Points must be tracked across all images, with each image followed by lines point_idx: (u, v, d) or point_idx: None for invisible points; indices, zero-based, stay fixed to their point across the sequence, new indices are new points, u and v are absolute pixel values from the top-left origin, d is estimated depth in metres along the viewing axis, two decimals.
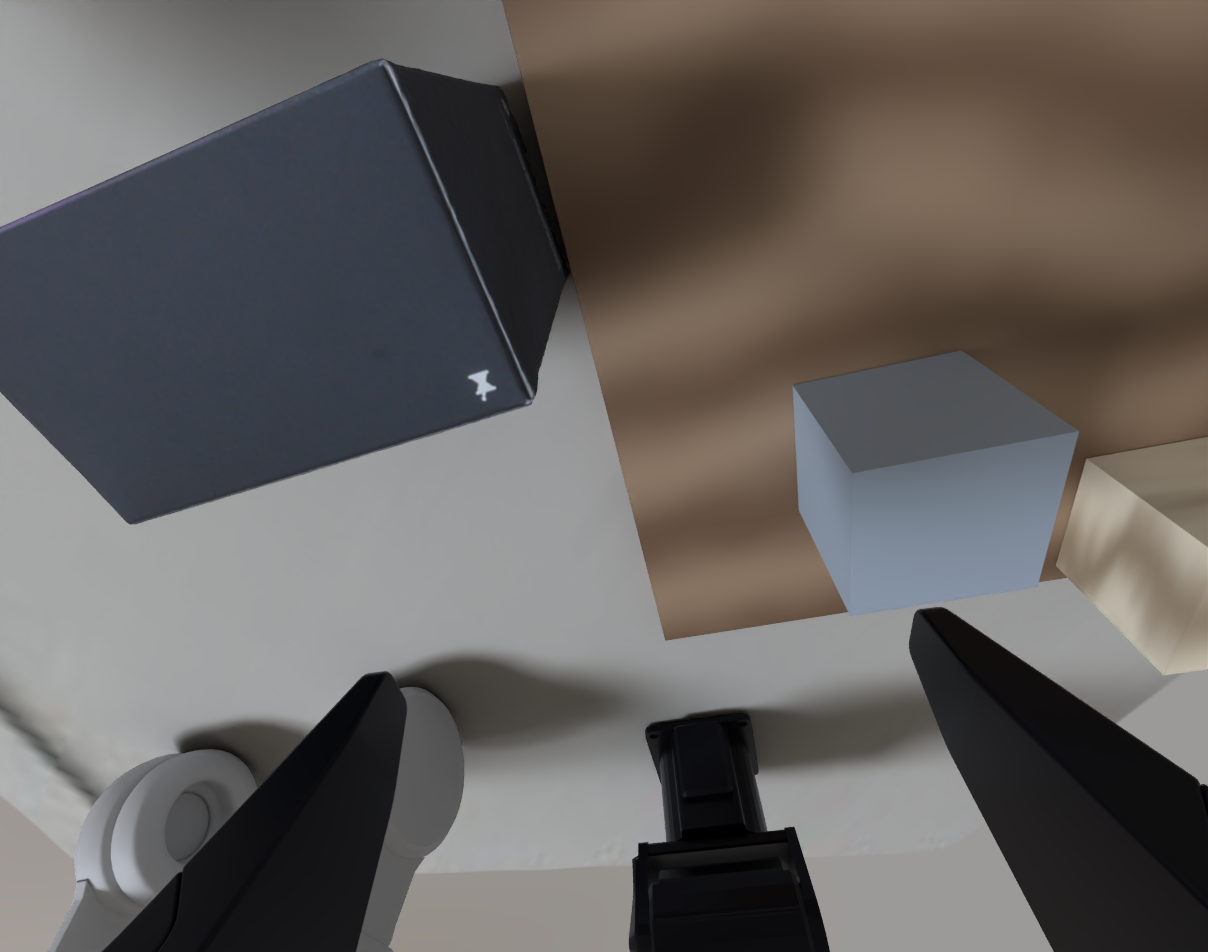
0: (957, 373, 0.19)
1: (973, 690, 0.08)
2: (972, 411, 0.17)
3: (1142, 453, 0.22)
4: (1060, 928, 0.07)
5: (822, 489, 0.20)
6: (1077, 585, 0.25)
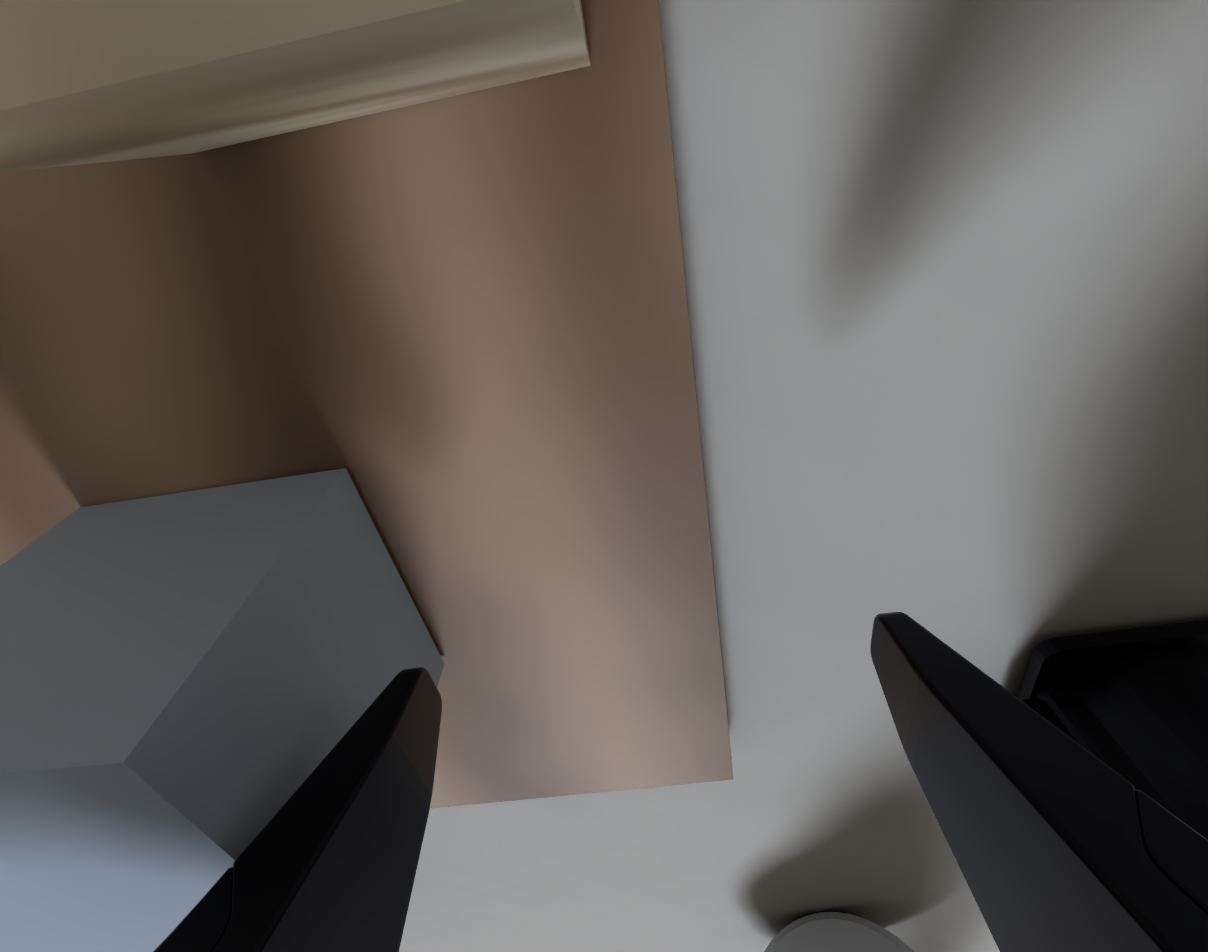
0: None
1: (925, 695, 0.08)
2: None
3: None
4: (1006, 931, 0.07)
5: None
6: (579, 59, 0.07)
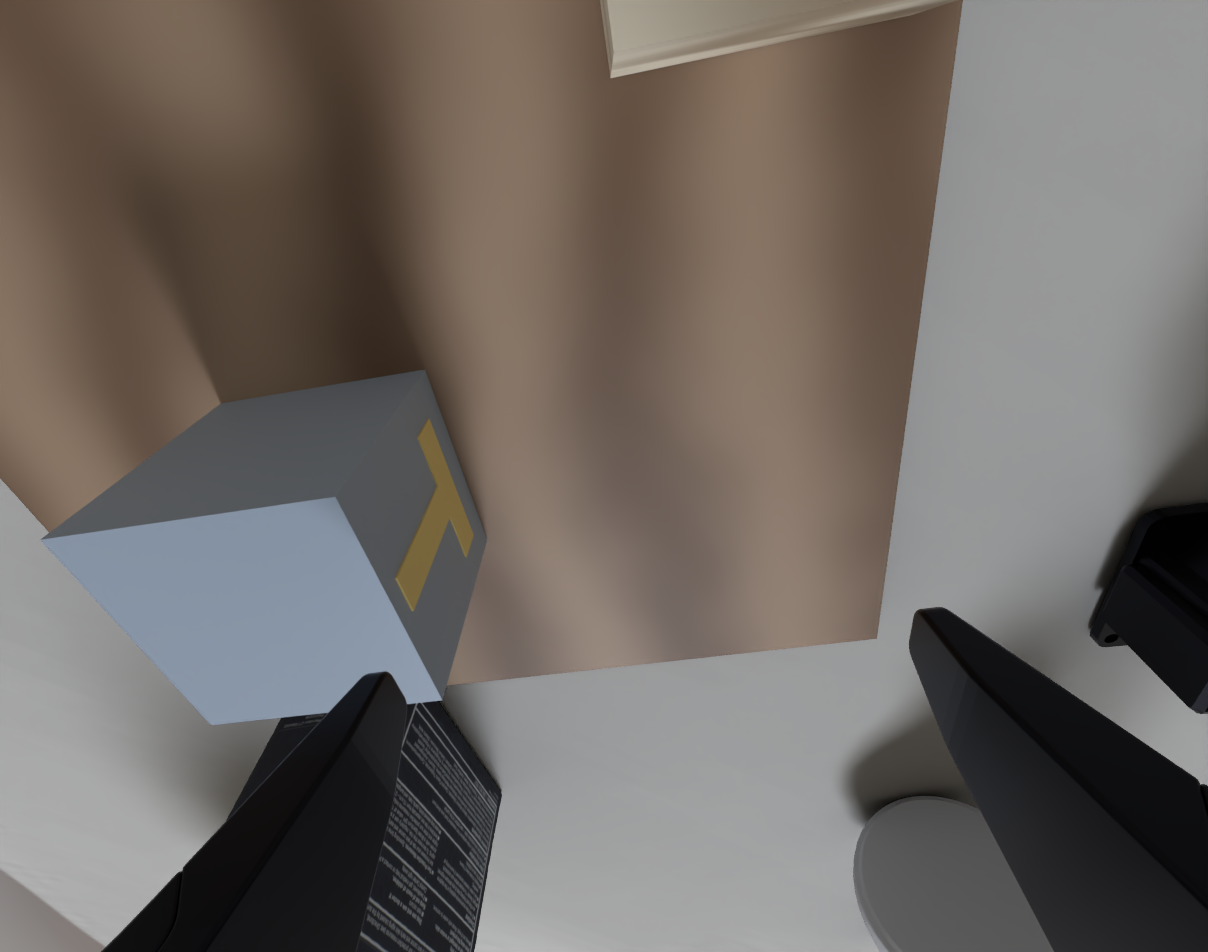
0: None
1: (973, 690, 0.08)
2: None
3: None
4: (1060, 928, 0.07)
5: None
6: (941, 4, 0.10)
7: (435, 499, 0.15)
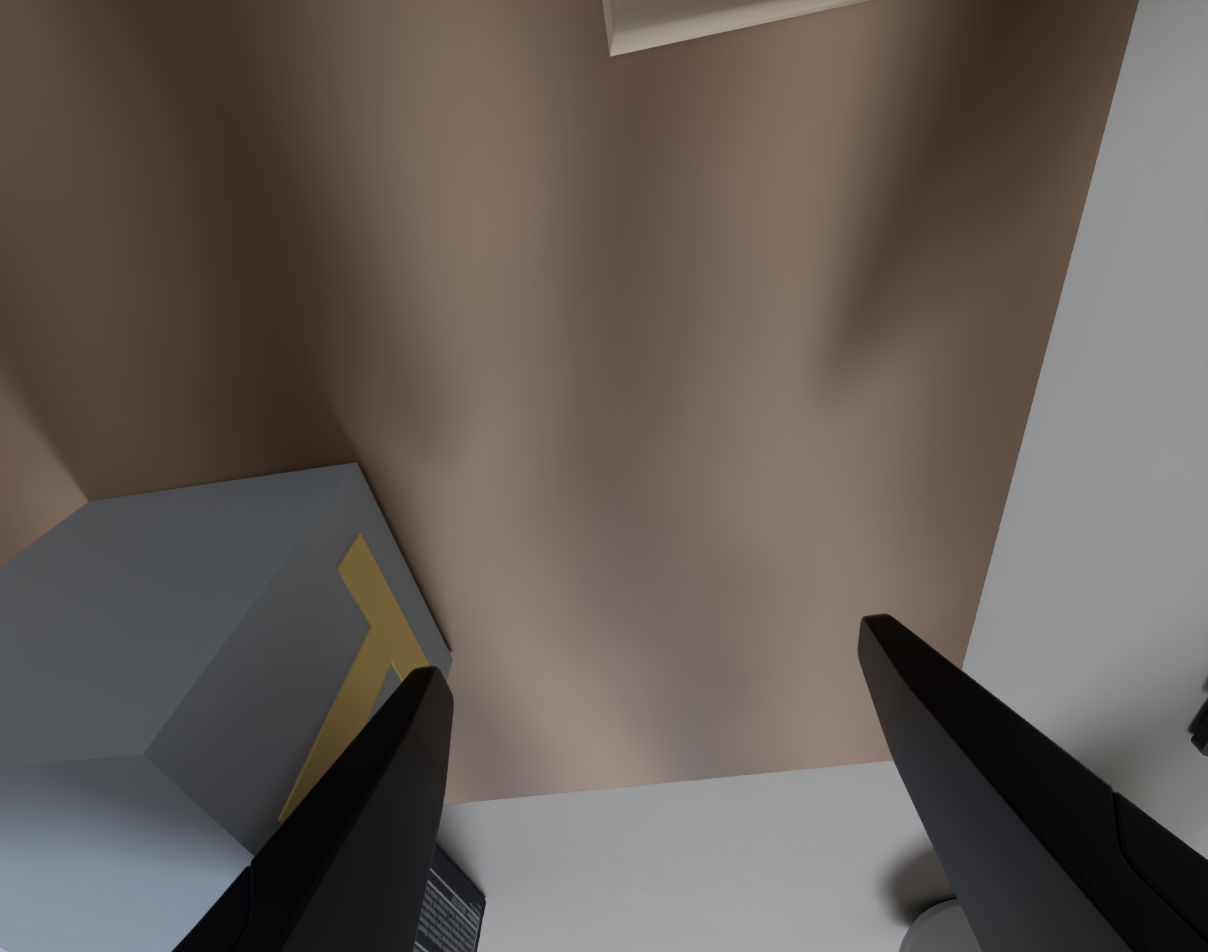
0: None
1: (908, 696, 0.08)
2: None
3: None
4: (988, 932, 0.07)
5: None
6: None
7: (365, 648, 0.10)
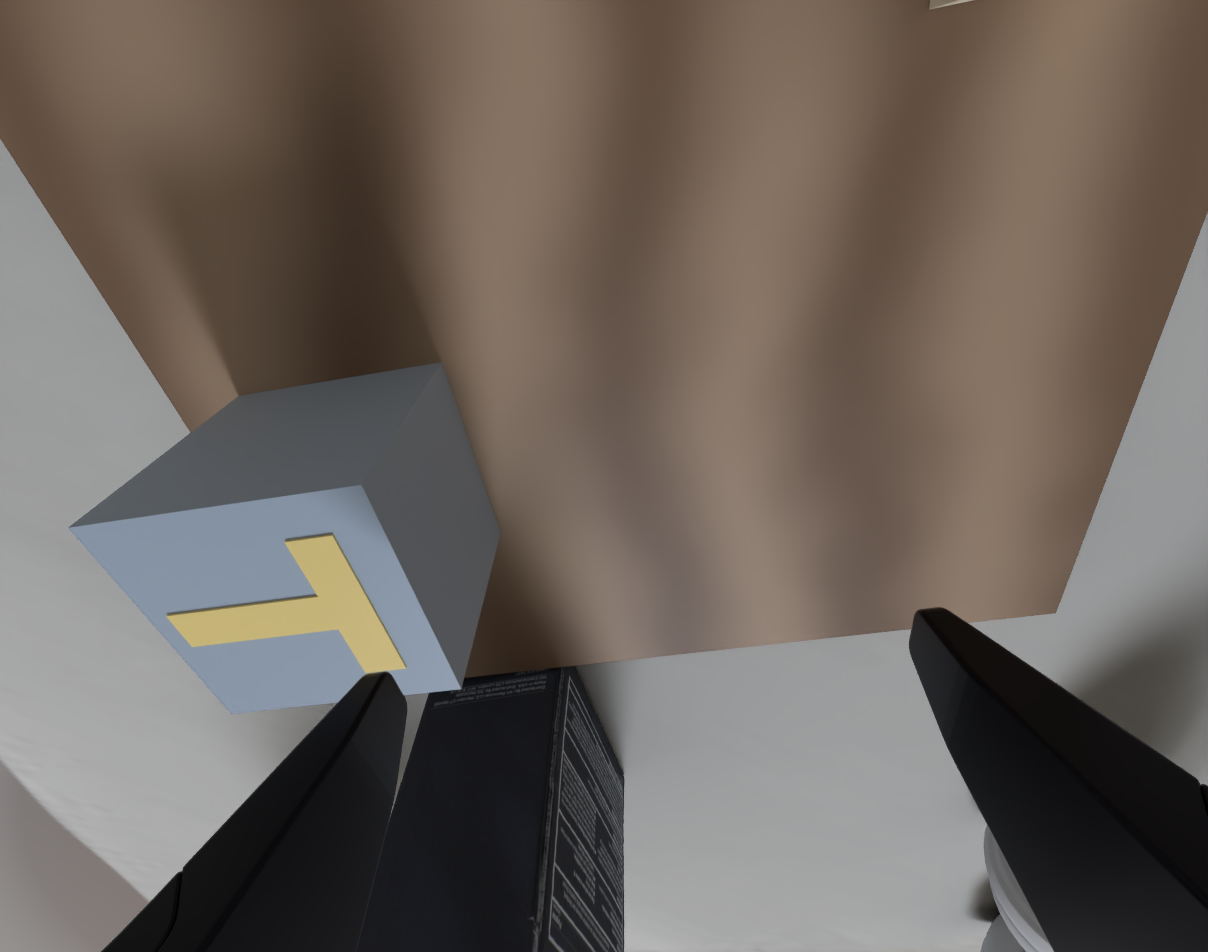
0: (406, 478, 0.12)
1: (973, 690, 0.08)
2: (445, 452, 0.15)
3: None
4: (1060, 928, 0.07)
5: None
6: None
7: (302, 603, 0.12)
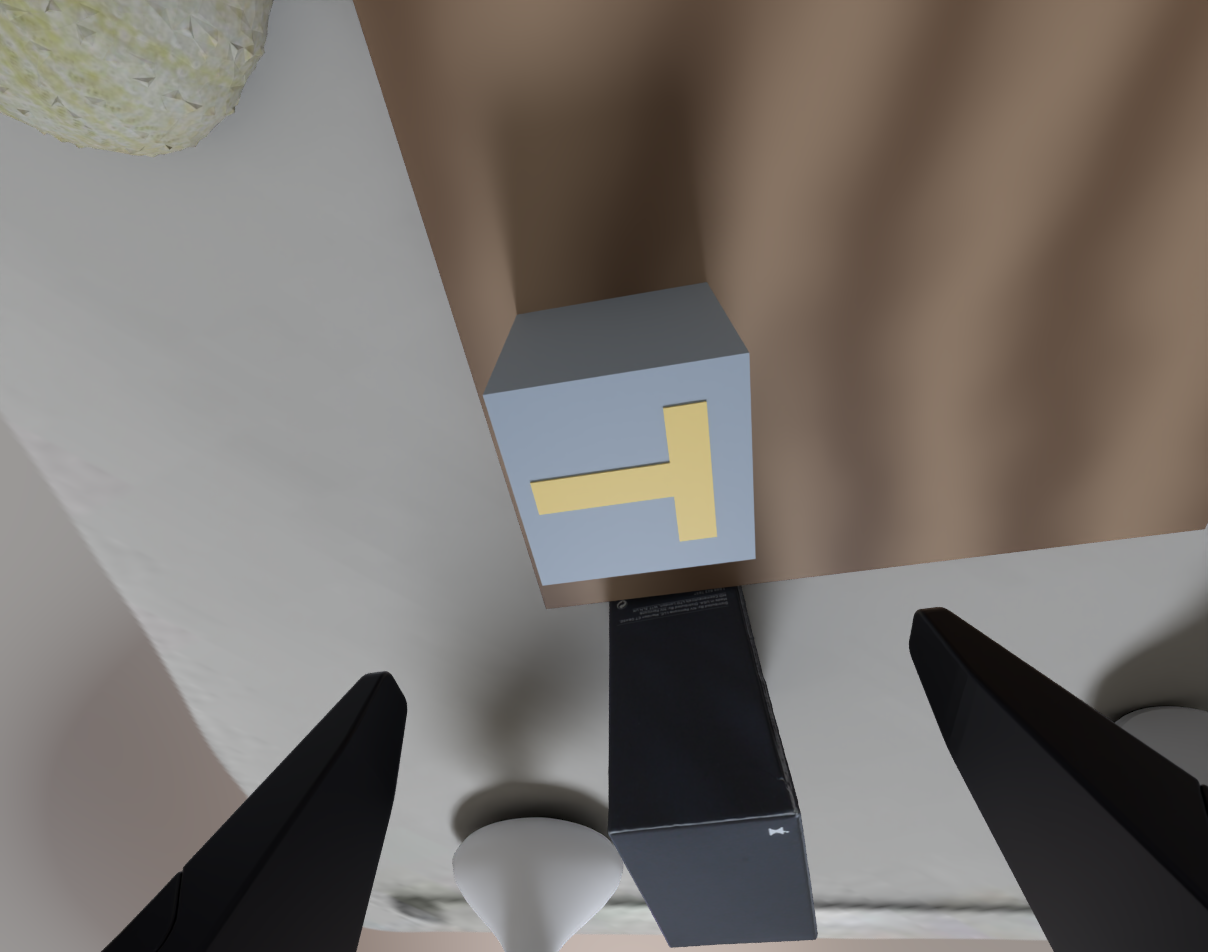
0: None
1: (973, 690, 0.08)
2: None
3: None
4: (1060, 928, 0.07)
5: None
6: None
7: (653, 470, 0.14)
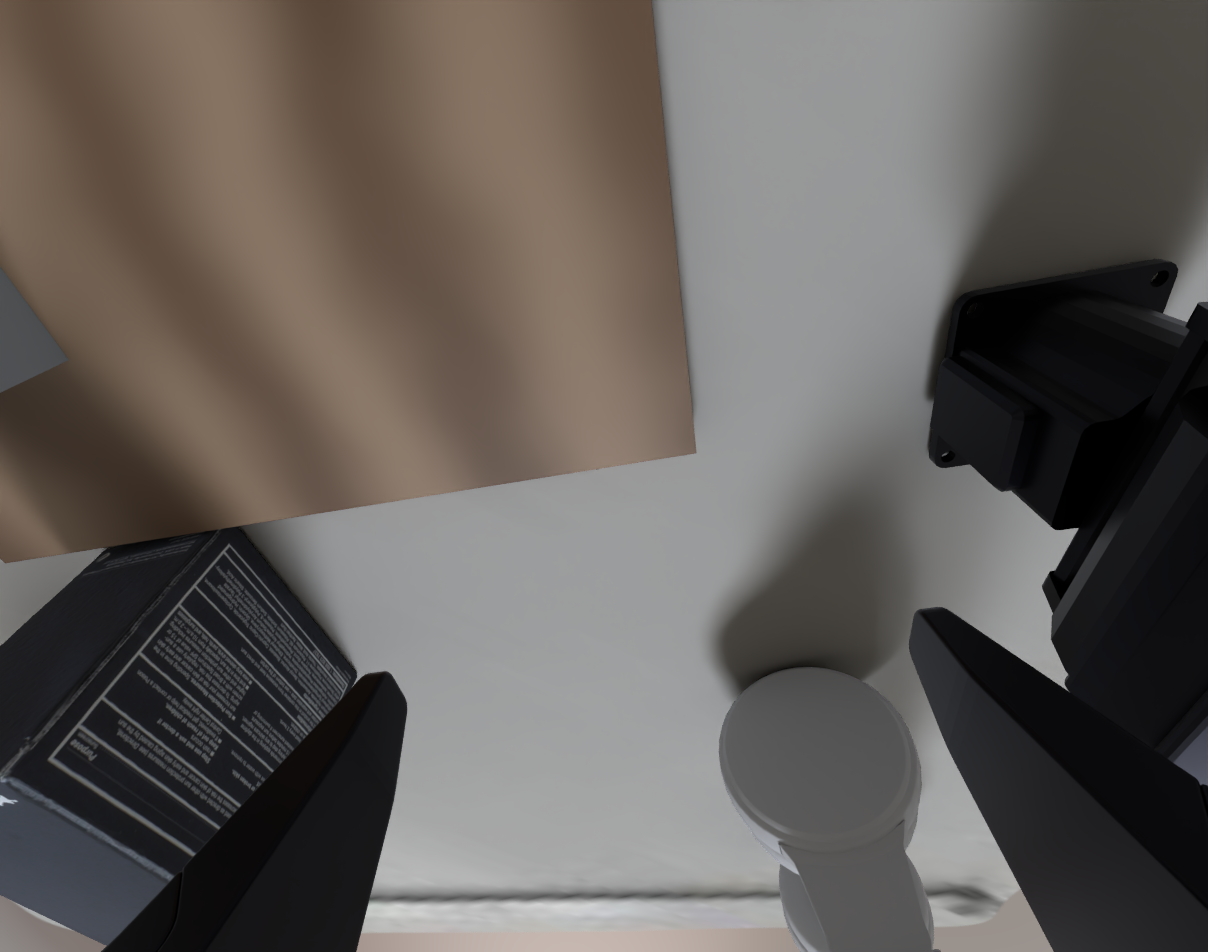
0: None
1: (973, 690, 0.08)
2: None
3: None
4: (1060, 927, 0.07)
5: None
6: None
7: None
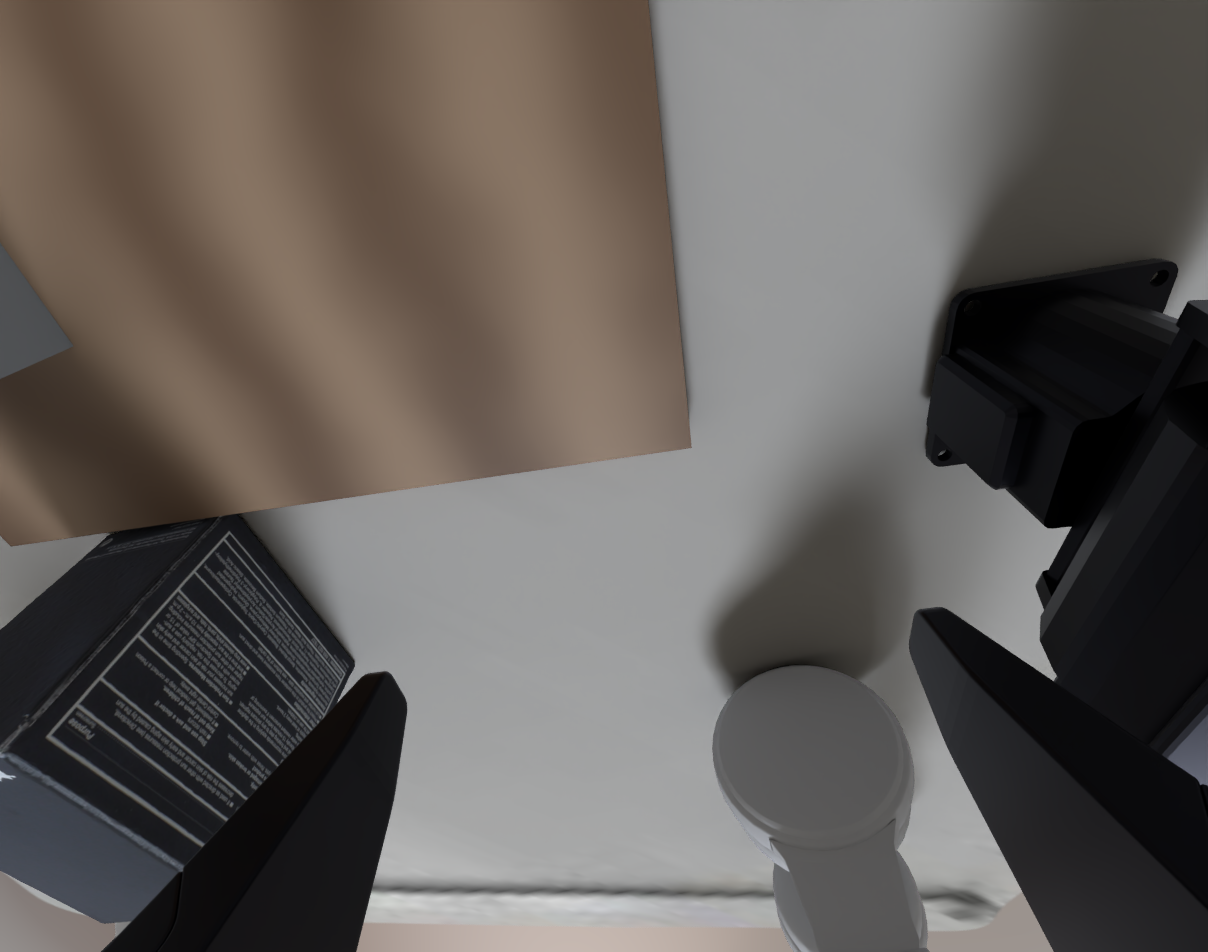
0: None
1: (973, 690, 0.08)
2: None
3: None
4: (1060, 928, 0.07)
5: None
6: None
7: None
